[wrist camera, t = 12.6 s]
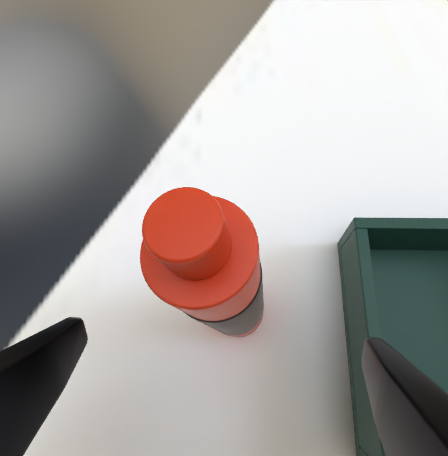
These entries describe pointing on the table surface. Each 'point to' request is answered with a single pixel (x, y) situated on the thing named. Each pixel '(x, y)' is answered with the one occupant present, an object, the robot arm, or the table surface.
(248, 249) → the crayon
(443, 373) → the crayon tray
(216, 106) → the table surface
